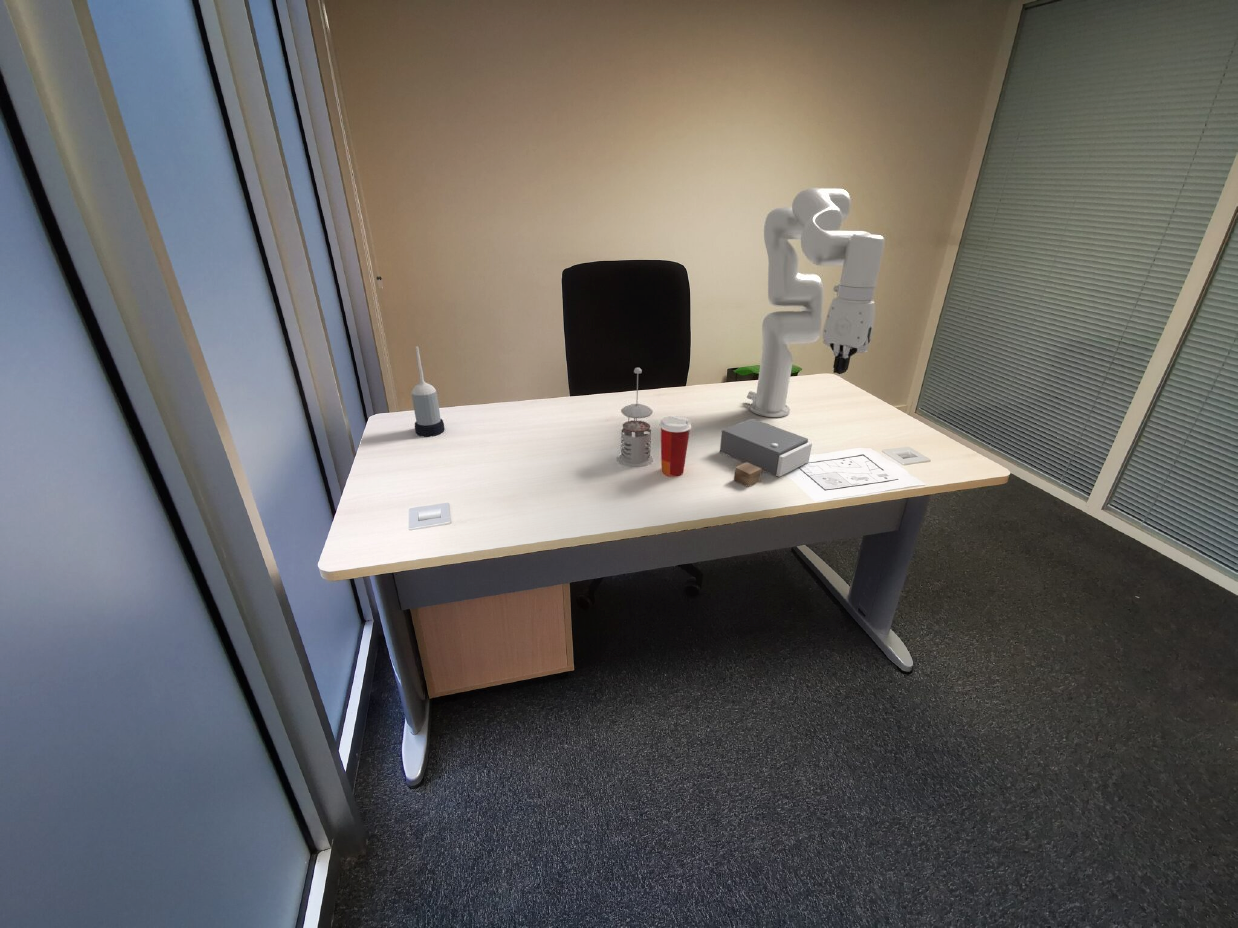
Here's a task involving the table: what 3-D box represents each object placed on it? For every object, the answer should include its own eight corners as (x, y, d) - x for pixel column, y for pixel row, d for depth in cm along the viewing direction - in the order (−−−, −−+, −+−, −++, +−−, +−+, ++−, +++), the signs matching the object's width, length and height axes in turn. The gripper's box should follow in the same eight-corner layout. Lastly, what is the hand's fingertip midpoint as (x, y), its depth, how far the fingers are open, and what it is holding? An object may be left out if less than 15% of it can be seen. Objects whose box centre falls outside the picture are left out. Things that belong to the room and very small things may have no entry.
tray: (722, 452, 147) (724, 433, 144) (752, 439, 154) (754, 422, 152) (779, 476, 135) (782, 457, 132) (808, 461, 142) (812, 443, 140)
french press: (620, 468, 138) (621, 374, 127) (613, 449, 148) (614, 360, 137) (657, 466, 140) (662, 373, 128) (648, 447, 150) (651, 359, 138)
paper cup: (690, 467, 139) (694, 417, 133) (683, 481, 133) (687, 428, 126) (661, 462, 141) (663, 413, 135) (653, 475, 135) (655, 424, 129)
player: (719, 451, 148) (722, 428, 145) (749, 439, 155) (752, 417, 152) (775, 475, 136) (779, 451, 132) (804, 461, 143) (808, 437, 140)
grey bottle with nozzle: (444, 424, 163) (431, 342, 151) (445, 435, 156) (432, 349, 145) (415, 427, 161) (401, 344, 149) (415, 438, 154) (400, 352, 142)
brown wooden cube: (733, 479, 134) (735, 467, 132) (745, 474, 136) (746, 462, 135) (748, 486, 130) (750, 474, 129) (759, 481, 133) (761, 468, 131)
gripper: (816, 291, 124) (803, 368, 133) (879, 300, 114) (861, 383, 123) (834, 287, 129) (820, 362, 137) (896, 296, 119) (877, 377, 127)
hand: (839, 372), depth 130 cm, fingers closed
